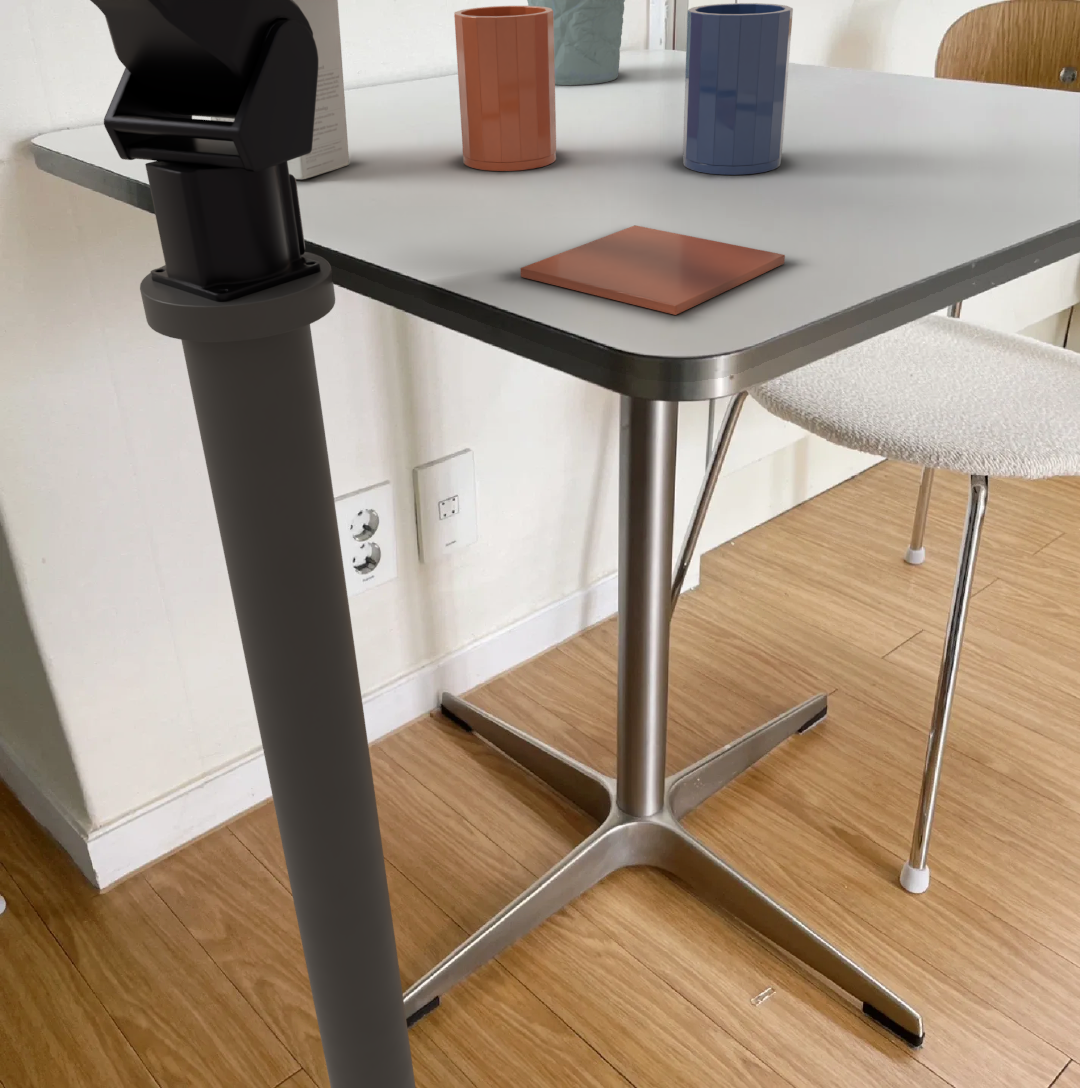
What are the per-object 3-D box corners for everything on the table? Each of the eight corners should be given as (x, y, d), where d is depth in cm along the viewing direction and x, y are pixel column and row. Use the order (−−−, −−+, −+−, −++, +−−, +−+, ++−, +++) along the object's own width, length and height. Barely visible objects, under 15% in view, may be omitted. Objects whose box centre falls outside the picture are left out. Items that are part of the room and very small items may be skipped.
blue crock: (746, 179, 77) (756, 17, 72) (664, 166, 81) (668, 11, 76) (798, 160, 82) (811, 6, 76) (717, 149, 85) (725, 1, 80)
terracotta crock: (512, 175, 80) (506, 19, 75) (444, 163, 84) (433, 14, 79) (574, 157, 84) (572, 8, 79) (506, 146, 88) (500, 4, 83)
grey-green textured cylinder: (523, 72, 119) (519, -58, 113) (620, 67, 120) (620, -62, 114) (532, 88, 110) (528, -52, 104) (636, 83, 111) (638, -56, 105)
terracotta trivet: (675, 315, 55) (676, 305, 55) (520, 277, 61) (519, 267, 60) (784, 263, 61) (785, 254, 61) (634, 233, 67) (634, 224, 67)
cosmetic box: (216, 172, 84) (177, -57, 76) (269, 155, 88) (237, -64, 81) (308, 182, 80) (277, -58, 73) (359, 164, 85) (334, -64, 77)
